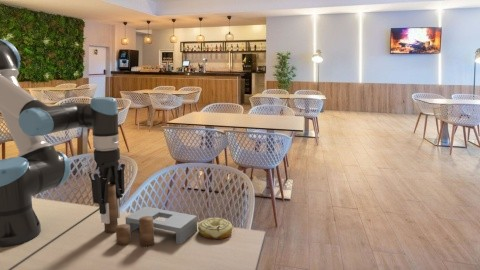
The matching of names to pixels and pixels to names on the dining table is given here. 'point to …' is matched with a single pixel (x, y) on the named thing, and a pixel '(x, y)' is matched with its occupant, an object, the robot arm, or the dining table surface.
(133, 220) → the bridge
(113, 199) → the long dowel
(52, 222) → the dining table surface
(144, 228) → the medium dowel
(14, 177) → the robot arm
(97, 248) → the dining table surface
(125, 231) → the short dowel
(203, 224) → the decorated donut
